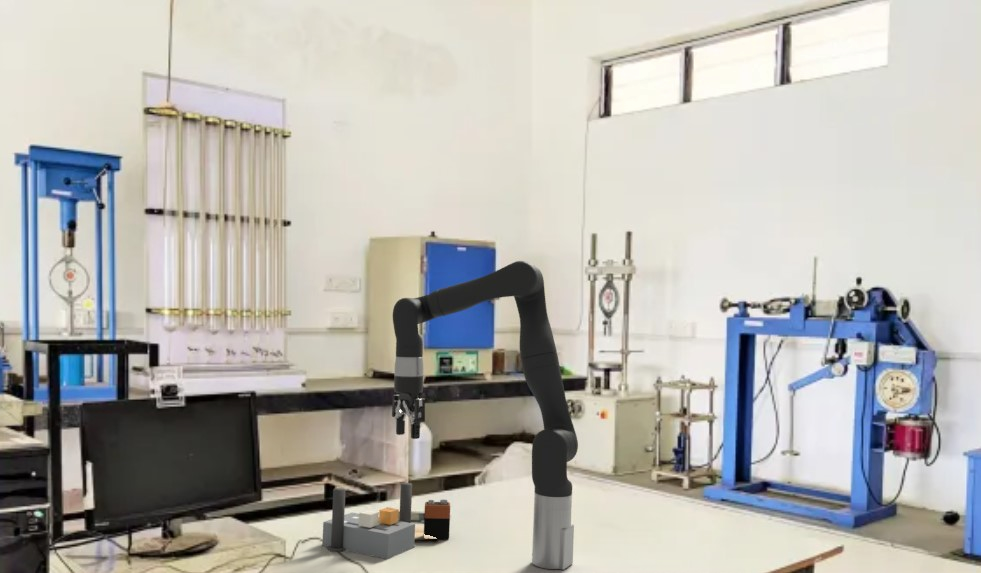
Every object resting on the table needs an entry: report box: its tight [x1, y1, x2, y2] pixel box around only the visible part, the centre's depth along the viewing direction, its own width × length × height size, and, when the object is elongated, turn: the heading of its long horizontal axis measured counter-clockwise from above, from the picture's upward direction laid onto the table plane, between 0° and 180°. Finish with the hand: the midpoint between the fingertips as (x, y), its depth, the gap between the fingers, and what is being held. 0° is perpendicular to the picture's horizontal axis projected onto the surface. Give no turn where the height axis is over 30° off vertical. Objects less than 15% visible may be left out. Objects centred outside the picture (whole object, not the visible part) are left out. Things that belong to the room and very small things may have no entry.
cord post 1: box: [327, 487, 346, 553], centre depth 210 cm, size 4×4×15 cm
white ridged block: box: [358, 509, 379, 528], centre depth 210 cm, size 4×4×3 cm
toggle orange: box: [378, 507, 400, 525], centre depth 213 cm, size 4×4×3 cm
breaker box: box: [322, 512, 416, 560], centre depth 214 cm, size 20×12×6 cm, turn 63°
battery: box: [423, 499, 451, 541], centre depth 224 cm, size 4×7×10 cm, turn 93°
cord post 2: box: [398, 482, 413, 523], centre depth 219 cm, size 4×4×15 cm
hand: (407, 436), depth 218 cm, fingers open, 8 cm apart
